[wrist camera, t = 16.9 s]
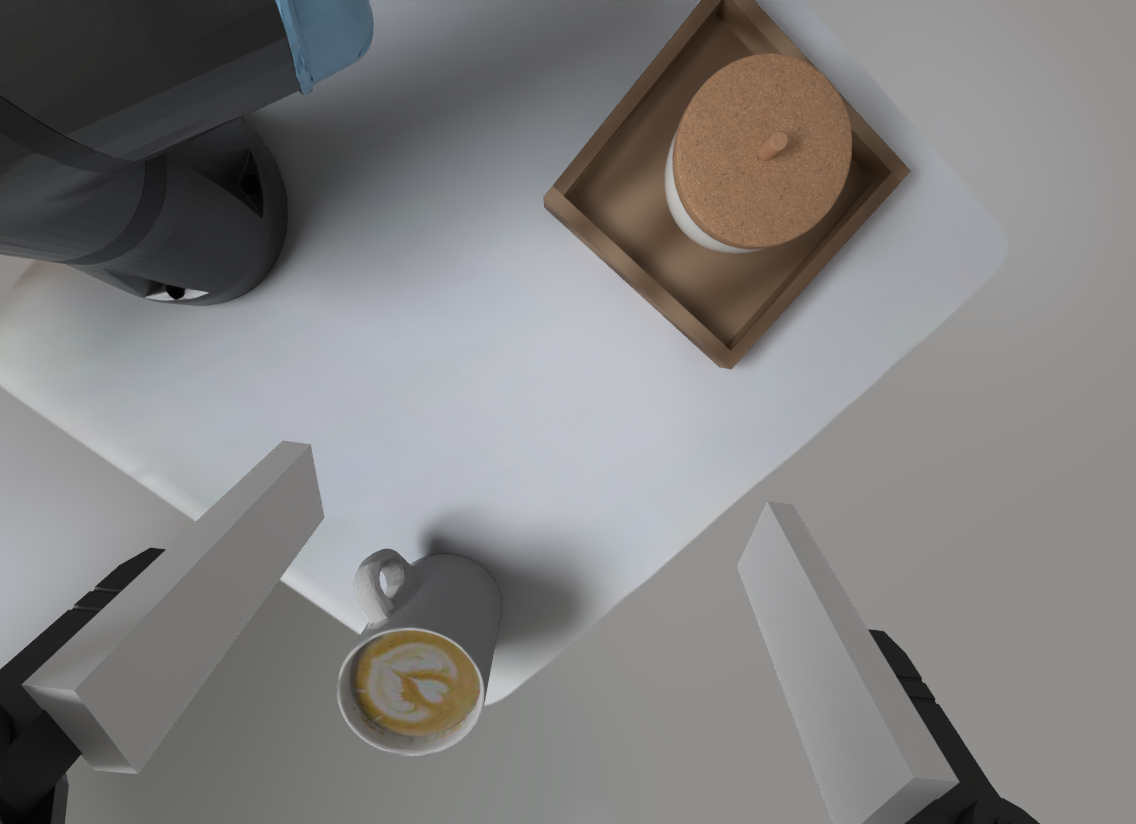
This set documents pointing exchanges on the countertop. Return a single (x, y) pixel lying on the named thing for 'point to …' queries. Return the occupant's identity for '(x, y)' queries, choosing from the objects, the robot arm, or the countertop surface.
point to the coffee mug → (420, 652)
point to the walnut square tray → (642, 217)
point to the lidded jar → (758, 155)
